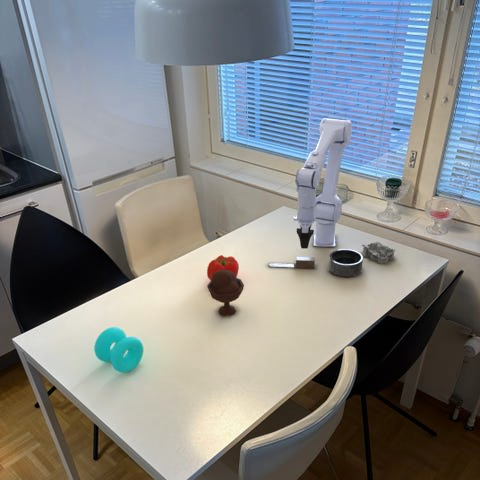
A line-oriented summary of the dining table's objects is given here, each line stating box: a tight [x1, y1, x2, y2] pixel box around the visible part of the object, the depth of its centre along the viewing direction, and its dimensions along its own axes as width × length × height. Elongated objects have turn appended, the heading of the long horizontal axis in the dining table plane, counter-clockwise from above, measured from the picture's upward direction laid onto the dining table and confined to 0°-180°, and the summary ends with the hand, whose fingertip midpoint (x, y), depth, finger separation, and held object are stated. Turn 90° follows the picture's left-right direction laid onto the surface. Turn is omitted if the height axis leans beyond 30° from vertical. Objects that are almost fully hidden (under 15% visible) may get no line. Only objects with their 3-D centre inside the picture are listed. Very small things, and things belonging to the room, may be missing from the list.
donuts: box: [93, 326, 144, 373], centre depth 133 cm, size 10×10×10 cm
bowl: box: [328, 248, 364, 278], centre depth 170 cm, size 11×11×5 cm
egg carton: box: [361, 241, 397, 264], centre depth 176 cm, size 11×8×4 cm
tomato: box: [206, 254, 240, 281], centre depth 165 cm, size 11×11×9 cm
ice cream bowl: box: [206, 270, 245, 317], centre depth 149 cm, size 11×11×15 cm
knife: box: [268, 256, 316, 269], centre depth 173 cm, size 16×2×3 cm, turn 82°
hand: (304, 242), depth 168 cm, fingers open, 7 cm apart
